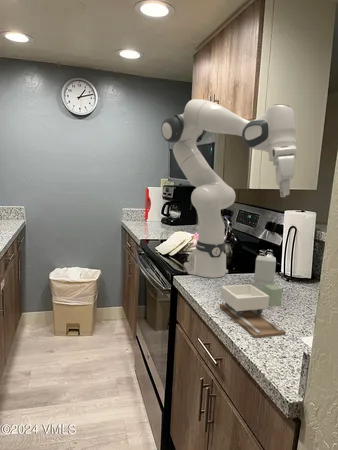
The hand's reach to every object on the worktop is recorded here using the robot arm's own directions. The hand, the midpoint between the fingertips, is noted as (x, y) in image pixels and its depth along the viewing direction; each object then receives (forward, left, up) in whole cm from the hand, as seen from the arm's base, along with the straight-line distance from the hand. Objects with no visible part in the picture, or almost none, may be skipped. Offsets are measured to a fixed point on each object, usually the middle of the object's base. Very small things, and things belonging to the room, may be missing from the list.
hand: (284, 196), depth 114 cm
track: (+9, -15, -38) cm, 41 cm away
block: (-2, 0, -38) cm, 38 cm away
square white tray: (+4, -15, -36) cm, 39 cm away
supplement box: (-15, +5, -38) cm, 41 cm away
